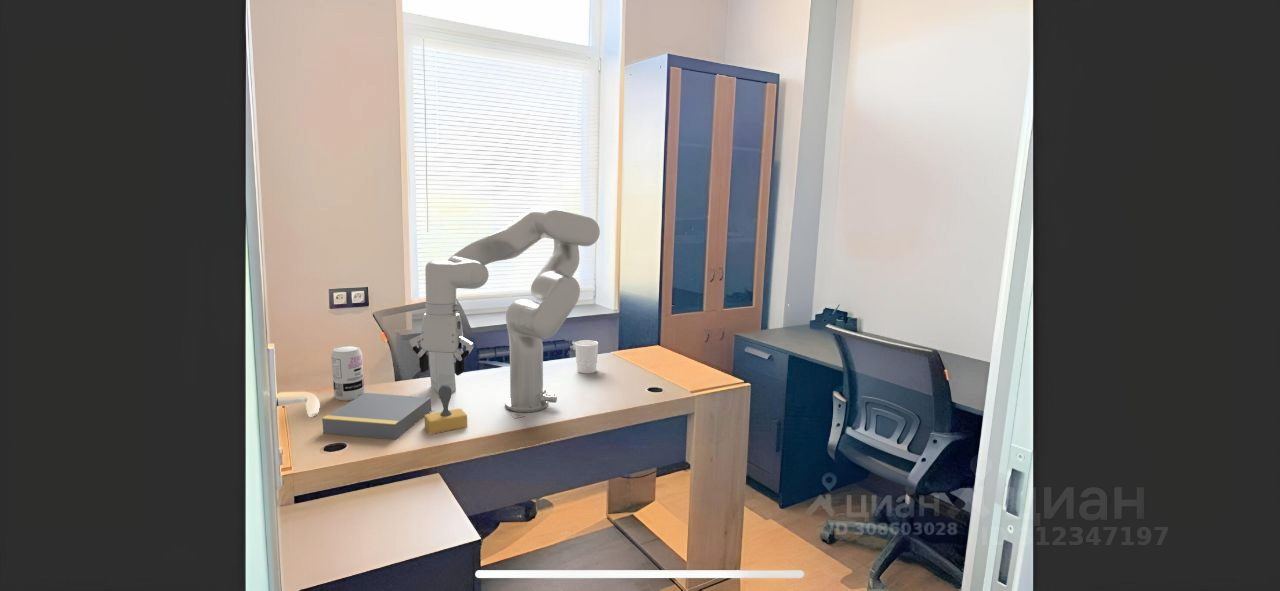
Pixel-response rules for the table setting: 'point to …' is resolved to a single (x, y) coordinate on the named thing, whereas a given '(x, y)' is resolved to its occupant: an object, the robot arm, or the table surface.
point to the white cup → (586, 356)
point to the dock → (377, 416)
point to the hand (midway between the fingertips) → (442, 372)
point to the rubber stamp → (445, 415)
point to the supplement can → (347, 372)
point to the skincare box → (442, 370)
